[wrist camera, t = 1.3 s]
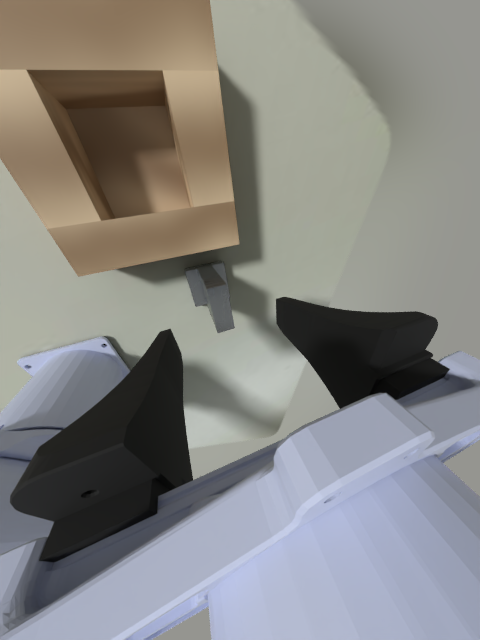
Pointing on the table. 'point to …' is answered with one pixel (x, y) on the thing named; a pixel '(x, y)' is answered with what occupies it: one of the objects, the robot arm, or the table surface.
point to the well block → (117, 127)
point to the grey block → (212, 292)
